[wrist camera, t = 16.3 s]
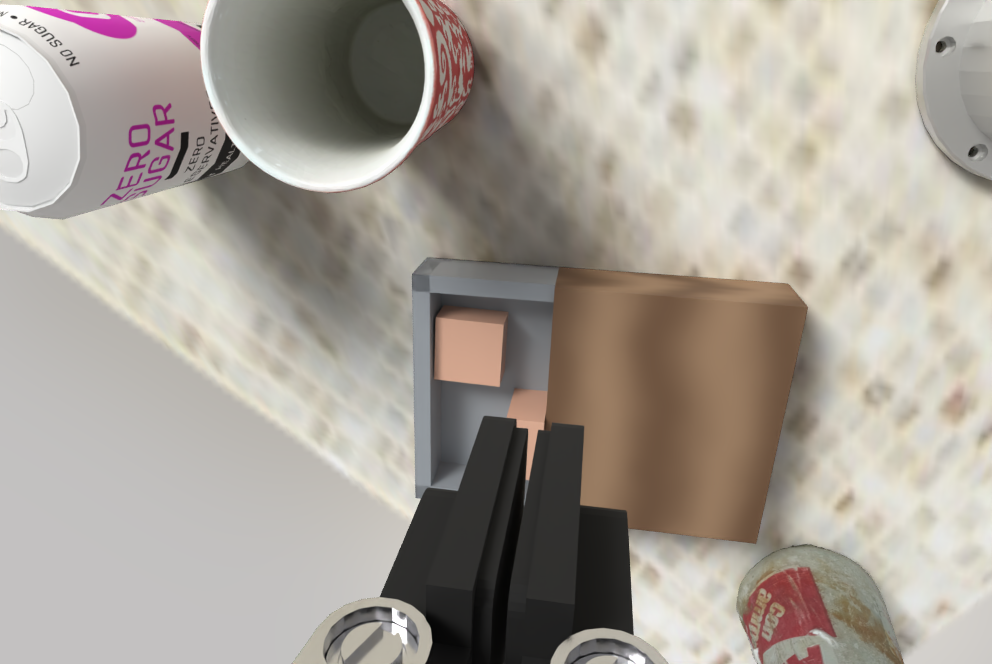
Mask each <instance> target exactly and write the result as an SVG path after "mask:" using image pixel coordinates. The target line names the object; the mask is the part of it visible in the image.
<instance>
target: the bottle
mask: <svg viewBox="0 0 992 664" xmlns="http://www.w3.org/2000/svg"><path fill="white" fill-rule="evenodd" d="M736 606H737V612H738V614H739V618H740V621H741V623H742V626H743V628H744V630H745V632H746V634H747V637H748V640H749V642H750V645H751V651H752V654H753V656H754V659H755V661H756V662H757V664H904V662H903V659H902V656H901V653H900V649H899V646H898V642H897V639H896V636H895V633H894V630H893V627H892V624H891V621H890V618H889V615H888V612H887V609H886V606H885V604H884V601H883V599H882V597H881V594H880V592H879V590H878V588H877V586H876V584H875V583H874V581H873V580H872V578H871V577H870V576H869V575H868V573H867V572H866V571H865V570H864V569H863V568H862V567H860V566H859V565H858V564H856V563H855V562H854V561H852V560H851V559H849V558H847V557H845V556H843V555H840V554H838V553H835V552H833V551H831V550H826V549H824V548H822V547H821V548H820V547H816V546H813V545H807V544H805V545H799V546H795V547H794V546H792V547H789V548H786V549H785V548H783V549H780V550H778V551H776V552H773V553H771V554H770V555H768V556H767V557H765V558H764V559H762V560H761V561H760V562H759V563H757V564H756V565H755V566H754V567H753V568H752V569H751V570H750V571H749V572H748V574H747V575H746V576H745V578H744V579H743V581H742V583H741V584H740V587H739V591H738V597H737V605H736Z"/></svg>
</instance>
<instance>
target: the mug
mask: <svg viewBox="0 0 992 664" xmlns="http://www.w3.org/2000/svg"><path fill="white" fill-rule="evenodd" d="M200 58H201V71H202V75H203V80H204V84H205V88H206V91H207V94H208V98H209V100H210V103H211V105H212V108H213V110H214V112H215V114H216V116H217V118H218V120H219V122H220V124H221V125H222V127H223V129H224V131H225V132H226V133H227V135H228V136H229V138H230V139H231V141H232V142H233V143H234V144H235V146H236V147H237V148H238V149H239V150H240V151H241V152H242V153H243V154H244V156H245V157H246V158H247V159H248V160H250V161H251V162H252V163H253V164H255V165H256V166H257V167H259V168H260V169H261V170H262V171H264V172H265V173H267V174H269V175H270V176H272V177H274V178H276V179H277V180H280V181H282V182H284V183H286V184H289V185H291V186H294V187H297V188H301V189H305V190H310V191H315V192H326V193H339V192H346V191H351V190H355V189H359V188H363V187H366V186H368V185H370V184H372V183H375V182H377V181H379V180H381V179H382V178H384V177H385V176H387V175H388V174H390V173H391V172H392V171H394V170H395V169H396V168H397V167H398V166H400V165H401V164H402V163H403V162H404V161H405V160H406V159H407V158H408V156H409V155H410V154H411V153H412V151H413V150H414V149H415V147H417V146H418V145H419V144H420V143H422V142H423V141H425V140H426V139H428V138H429V137H431V136H432V134H433V133H434V132H436V131H437V130H439V129H440V128H441V127H443V126H444V125H446V124H447V123H448V122H450V121H451V120H452V119H453V118H454V117H455V116H456V115H457V113H458V112H459V111H460V109H461V108H462V107H463V105H464V103H465V102H466V100H467V98H468V95H469V93H470V89H471V86H472V82H473V76H474V57H473V51H472V47H471V43H470V40H469V37H468V35H467V33H466V31H465V29H464V27H463V25H462V24H461V22H460V21H459V19H458V18H457V16H456V15H455V14H454V13H453V12H452V11H451V10H450V9H449V8H448V7H447V6H446V5H445V4H443V3H442V2H441V1H439V0H209V1H208V3H207V7H206V10H205V13H204V17H203V22H202V28H201V37H200Z"/></svg>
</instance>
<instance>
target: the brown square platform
mask: <svg viewBox="0 0 992 664" xmlns="http://www.w3.org/2000/svg"><path fill="white" fill-rule="evenodd" d="M807 310H808V307H807V305H806V304H805V303H804V302H803V301H802V299H801V298H800V297H799V296H798V295H797V293H796V292H795V291H794V290H793V289H792V287H791V286H790V285H789V284H785V283H771V282H757V281H744V280H730V279H716V278H702V277H689V276H675V275H661V274H648V273H634V272H620V271H606V270H593V269H579V268H565V267H559V270H558V275H557V279H556V284H555V289H554V304H553V319H552V333H551V348H550V363H549V378H548V392H547V407H546V422H545V430H547V431H551V425H552V422H553V423H563V424H573V425H583V426H584V443H583V462H582V480H581V498H580V505H584V506H593V507H602V508H610V509H619V510H626V511H627V518H628V528H630V529H638V530H647V531H655V532H663V533H672V534H680V535H688V536H697V537H705V538H713V539H722V540H730V541H738V542H747V543H755V544H756V542H757V537H758V533H759V528H760V524H761V519H762V515H763V510H764V505H765V501H766V496H767V492H768V487H769V483H770V478H771V474H772V469H773V464H774V460H775V455H776V451H777V446H778V442H779V437H780V433H781V428H782V423H783V419H784V414H785V410H786V405H787V401H788V396H789V392H790V387H791V382H792V378H793V373H794V369H795V364H796V360H797V355H798V351H799V346H800V341H801V337H802V332H803V328H804V323H805V319H806V314H807Z"/></svg>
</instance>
